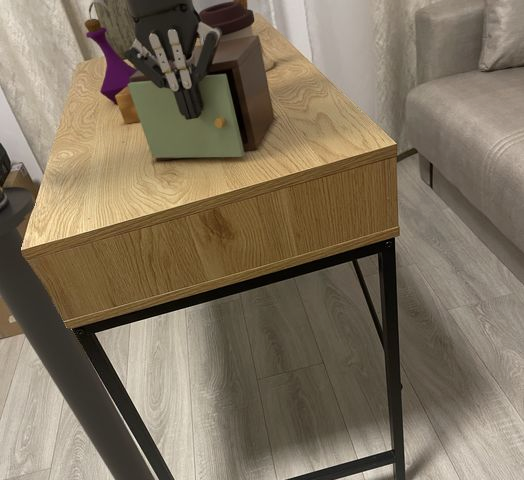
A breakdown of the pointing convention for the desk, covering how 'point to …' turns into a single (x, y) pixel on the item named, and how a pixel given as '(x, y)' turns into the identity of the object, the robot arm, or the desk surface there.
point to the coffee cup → (229, 20)
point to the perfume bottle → (109, 60)
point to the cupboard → (240, 86)
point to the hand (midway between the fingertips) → (194, 116)
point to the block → (127, 106)
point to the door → (188, 121)
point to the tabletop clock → (117, 25)
